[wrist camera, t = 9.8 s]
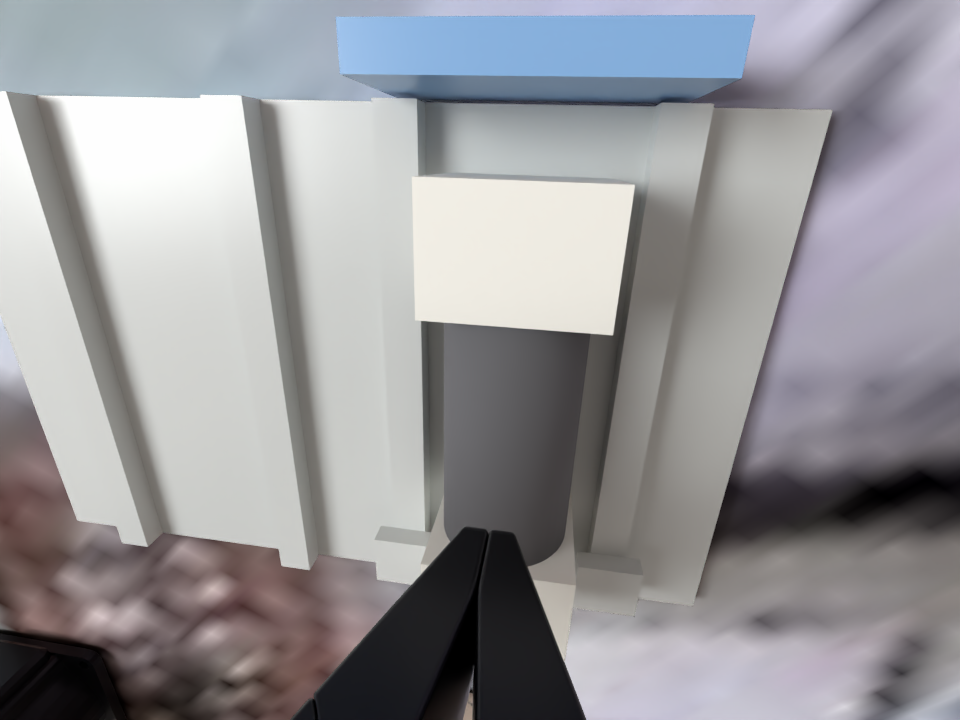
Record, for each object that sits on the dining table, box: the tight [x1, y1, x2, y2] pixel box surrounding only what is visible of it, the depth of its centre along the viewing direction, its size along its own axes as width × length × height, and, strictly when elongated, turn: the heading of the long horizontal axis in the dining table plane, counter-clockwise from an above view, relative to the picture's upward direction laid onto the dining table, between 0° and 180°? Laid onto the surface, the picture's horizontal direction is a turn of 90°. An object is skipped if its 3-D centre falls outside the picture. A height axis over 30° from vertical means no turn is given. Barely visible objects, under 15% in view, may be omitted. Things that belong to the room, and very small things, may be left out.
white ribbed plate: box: [0, 15, 832, 617], centre depth 12 cm, size 15×22×3 cm
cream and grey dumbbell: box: [412, 173, 635, 661], centre depth 11 cm, size 11×4×4 cm, turn 178°
